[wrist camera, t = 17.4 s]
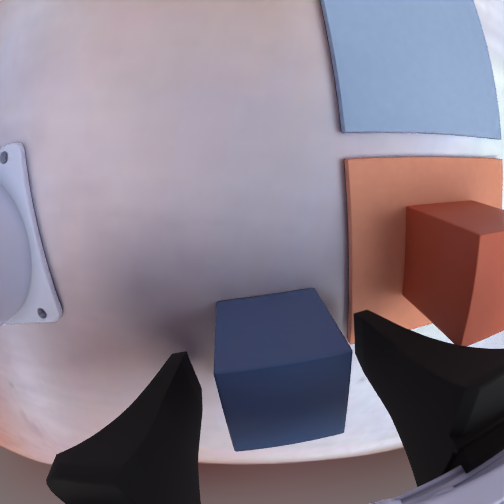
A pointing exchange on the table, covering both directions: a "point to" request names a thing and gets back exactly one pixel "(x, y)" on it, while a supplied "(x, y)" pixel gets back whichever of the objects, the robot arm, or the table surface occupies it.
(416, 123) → the blue mat
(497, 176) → the terracotta mat
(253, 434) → the slate-blue block
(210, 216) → the table surface
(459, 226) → the terracotta block
